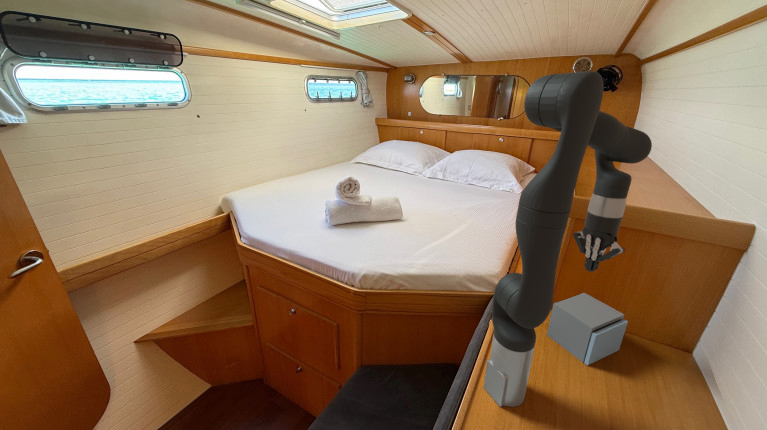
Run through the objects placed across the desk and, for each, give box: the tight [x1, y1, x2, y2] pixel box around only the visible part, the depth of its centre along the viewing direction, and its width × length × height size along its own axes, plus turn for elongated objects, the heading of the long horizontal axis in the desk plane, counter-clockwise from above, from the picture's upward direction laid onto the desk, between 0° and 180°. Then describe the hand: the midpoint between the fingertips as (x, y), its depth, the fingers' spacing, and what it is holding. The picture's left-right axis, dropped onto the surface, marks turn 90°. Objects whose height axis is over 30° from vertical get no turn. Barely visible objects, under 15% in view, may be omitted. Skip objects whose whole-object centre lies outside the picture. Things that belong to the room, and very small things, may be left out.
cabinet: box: [546, 292, 625, 363], centre depth 91 cm, size 14×12×12 cm
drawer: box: [583, 318, 629, 366], centre depth 90 cm, size 14×12×11 cm
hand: (589, 270), depth 83 cm, fingers closed
